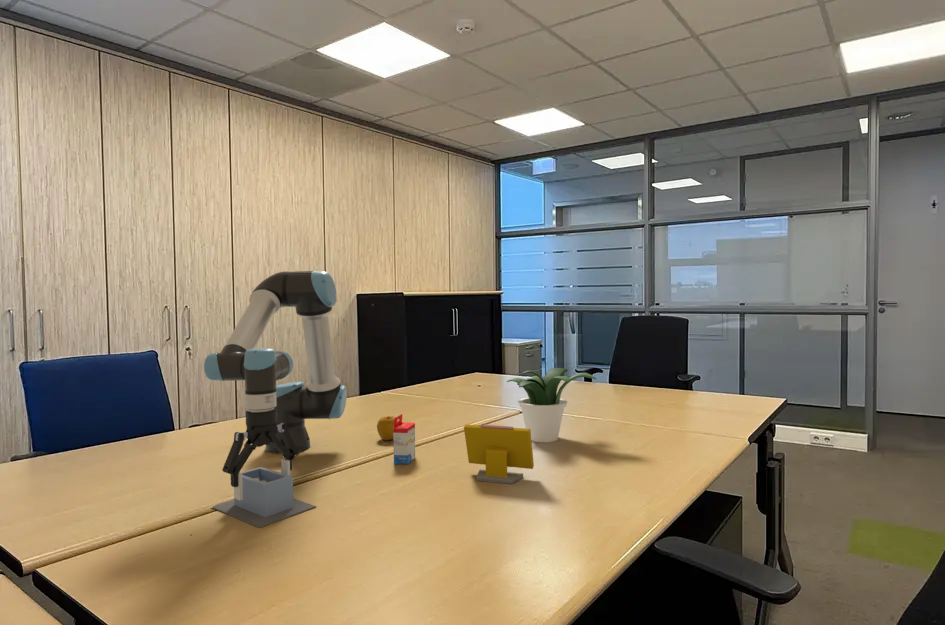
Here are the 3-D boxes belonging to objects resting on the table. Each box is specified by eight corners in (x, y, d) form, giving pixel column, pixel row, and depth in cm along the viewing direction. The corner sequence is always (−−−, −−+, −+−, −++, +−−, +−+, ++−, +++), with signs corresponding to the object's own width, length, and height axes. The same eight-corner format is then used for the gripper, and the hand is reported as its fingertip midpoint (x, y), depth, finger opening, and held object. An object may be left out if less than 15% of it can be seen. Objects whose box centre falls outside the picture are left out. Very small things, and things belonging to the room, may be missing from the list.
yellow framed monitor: (534, 477, 168) (533, 424, 167) (527, 485, 160) (527, 430, 160) (470, 471, 174) (469, 420, 174) (461, 479, 167) (460, 425, 166)
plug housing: (234, 505, 147) (233, 474, 147) (262, 496, 153) (261, 466, 153) (265, 517, 139) (264, 485, 138) (293, 507, 145) (292, 476, 145)
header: (211, 507, 146) (210, 481, 146) (266, 490, 159) (266, 466, 159) (259, 528, 133) (259, 499, 133) (316, 507, 146) (315, 481, 145)
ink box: (407, 464, 181) (407, 419, 181) (393, 464, 182) (392, 418, 182) (415, 457, 190) (415, 413, 189) (401, 456, 191) (401, 413, 190)
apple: (393, 443, 208) (393, 419, 208) (372, 441, 211) (372, 418, 210) (403, 437, 216) (403, 414, 216) (383, 436, 219) (383, 413, 218)
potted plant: (591, 453, 191) (590, 378, 190) (492, 445, 203) (491, 374, 203) (603, 432, 221) (603, 367, 220) (516, 425, 233) (516, 364, 232)
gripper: (222, 419, 133) (224, 509, 134) (310, 402, 153) (312, 480, 153) (206, 415, 137) (208, 502, 138) (294, 399, 157) (295, 475, 158)
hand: (263, 491), depth 146 cm, fingers open, 13 cm apart
